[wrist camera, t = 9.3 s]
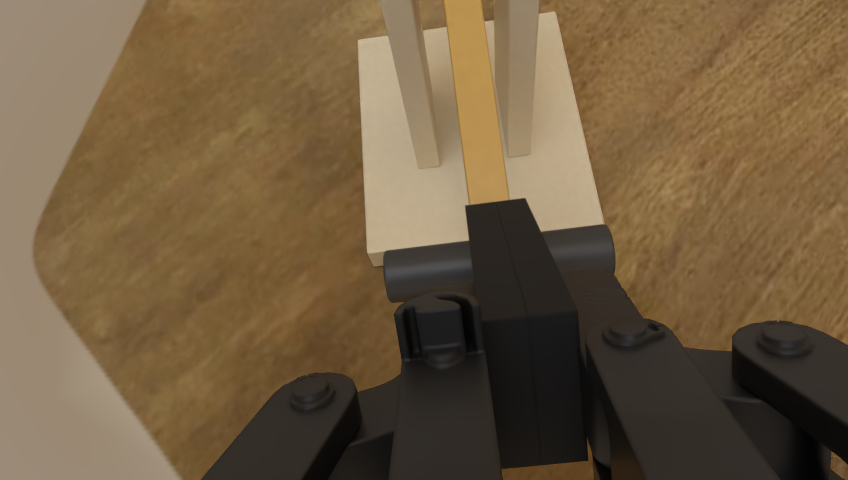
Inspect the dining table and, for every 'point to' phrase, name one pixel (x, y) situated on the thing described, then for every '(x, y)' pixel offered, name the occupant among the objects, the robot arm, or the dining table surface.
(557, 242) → the latch lever
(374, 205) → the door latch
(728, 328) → the dining table surface
